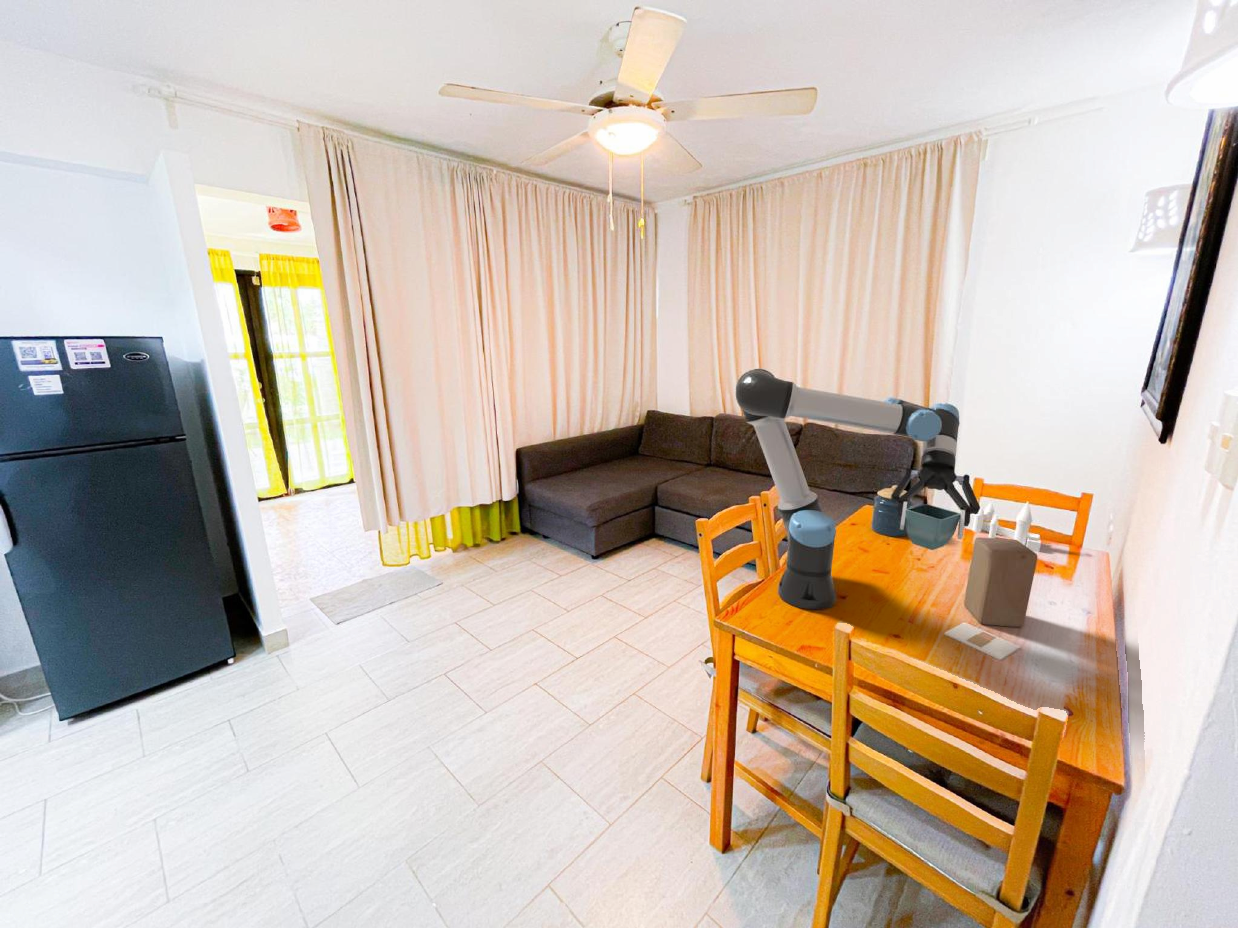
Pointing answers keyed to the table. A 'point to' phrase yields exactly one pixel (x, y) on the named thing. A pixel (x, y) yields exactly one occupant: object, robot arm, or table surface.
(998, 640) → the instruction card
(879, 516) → the canister
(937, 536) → the flower pot
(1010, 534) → the toy castle
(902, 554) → the table surface
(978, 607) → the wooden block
